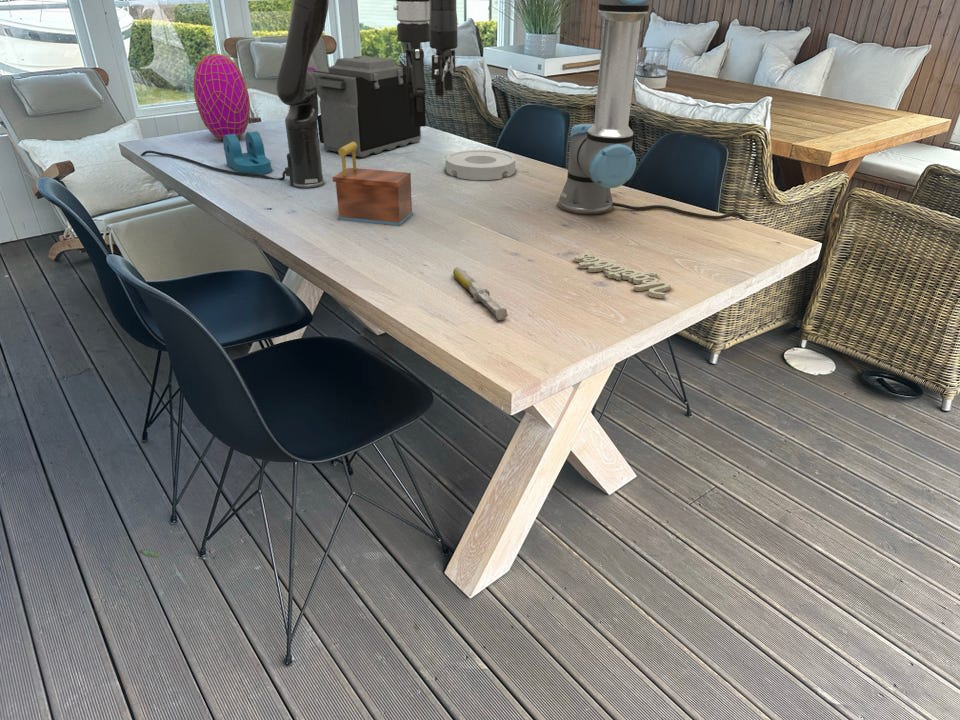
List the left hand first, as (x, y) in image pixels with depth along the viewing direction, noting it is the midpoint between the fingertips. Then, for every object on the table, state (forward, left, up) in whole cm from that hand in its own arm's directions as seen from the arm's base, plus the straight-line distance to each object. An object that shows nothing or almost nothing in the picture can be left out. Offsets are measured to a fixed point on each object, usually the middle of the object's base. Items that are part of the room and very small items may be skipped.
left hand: (444, 93), depth 191 cm
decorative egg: (-101, +46, -29) cm, 115 cm away
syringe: (+27, -66, -29) cm, 77 cm away
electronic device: (-45, +52, -29) cm, 74 cm away
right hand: (+2, -31, -1) cm, 31 cm away
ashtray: (+3, +30, -29) cm, 42 cm away
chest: (-13, -23, -29) cm, 39 cm away
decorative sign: (+56, -46, -29) cm, 78 cm away
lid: (-13, -23, -19) cm, 33 cm away
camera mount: (-71, +11, -29) cm, 77 cm away
